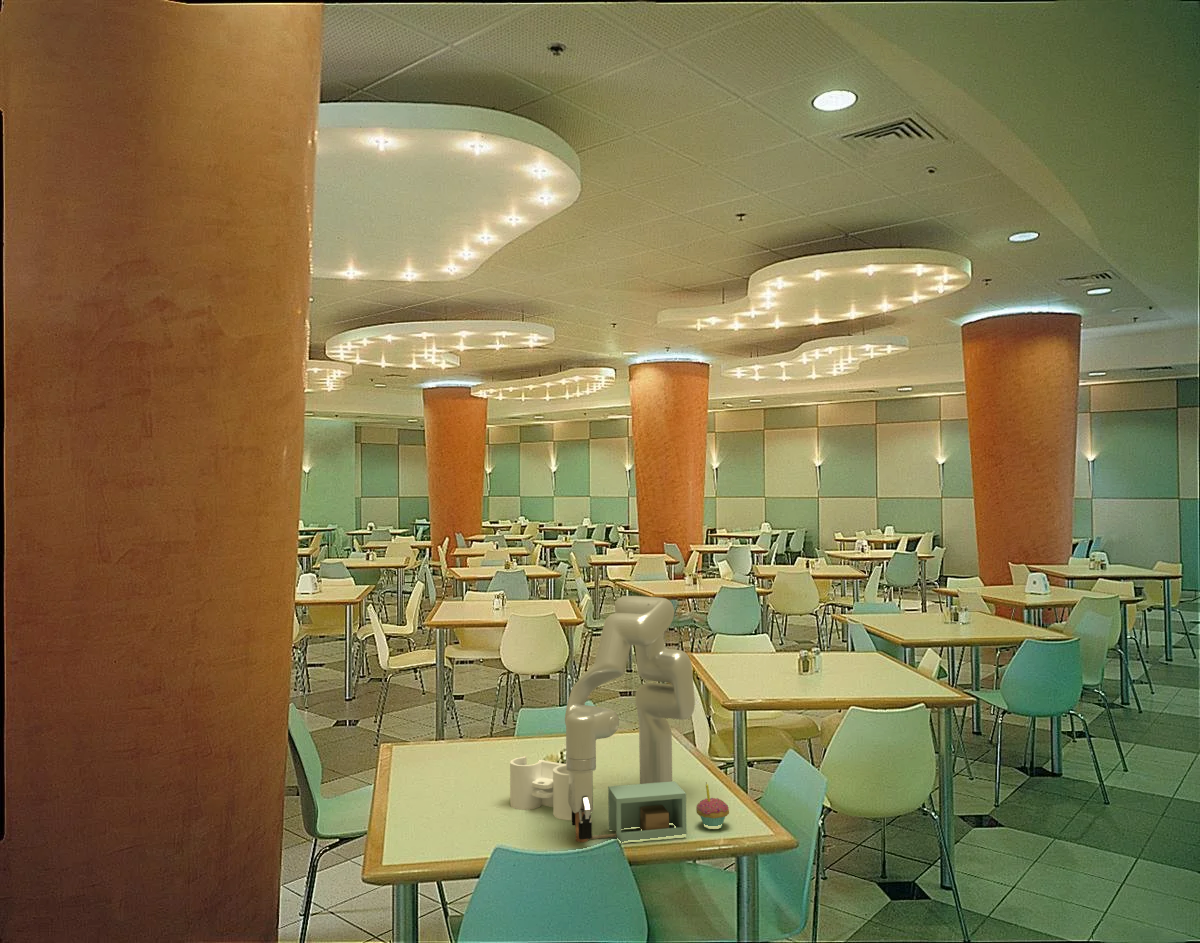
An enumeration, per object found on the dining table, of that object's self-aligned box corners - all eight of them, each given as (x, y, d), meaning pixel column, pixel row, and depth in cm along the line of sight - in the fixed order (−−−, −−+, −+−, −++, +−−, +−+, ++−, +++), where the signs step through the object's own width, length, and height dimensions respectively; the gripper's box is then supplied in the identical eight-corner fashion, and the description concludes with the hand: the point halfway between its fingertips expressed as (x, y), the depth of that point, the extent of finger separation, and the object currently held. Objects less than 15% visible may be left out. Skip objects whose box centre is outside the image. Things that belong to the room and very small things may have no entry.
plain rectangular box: (608, 830, 234) (608, 786, 234) (675, 824, 238) (674, 781, 238) (617, 844, 224) (616, 799, 224) (686, 838, 228) (685, 793, 228)
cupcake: (711, 835, 230) (711, 787, 230) (689, 825, 236) (688, 779, 237) (736, 827, 235) (735, 781, 235) (713, 818, 241) (712, 773, 242)
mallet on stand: (573, 836, 230) (573, 808, 230) (662, 828, 235) (662, 801, 235) (577, 844, 224) (577, 816, 224) (669, 836, 229) (668, 808, 229)
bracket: (502, 807, 252) (502, 763, 253) (523, 797, 261) (522, 755, 261) (577, 823, 239) (577, 777, 240) (596, 812, 248) (596, 767, 248)
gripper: (560, 754, 236) (561, 821, 235) (572, 774, 219) (573, 845, 218) (589, 752, 237) (589, 818, 236) (602, 772, 220) (603, 842, 220)
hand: (581, 831), depth 227 cm, fingers open, 9 cm apart
